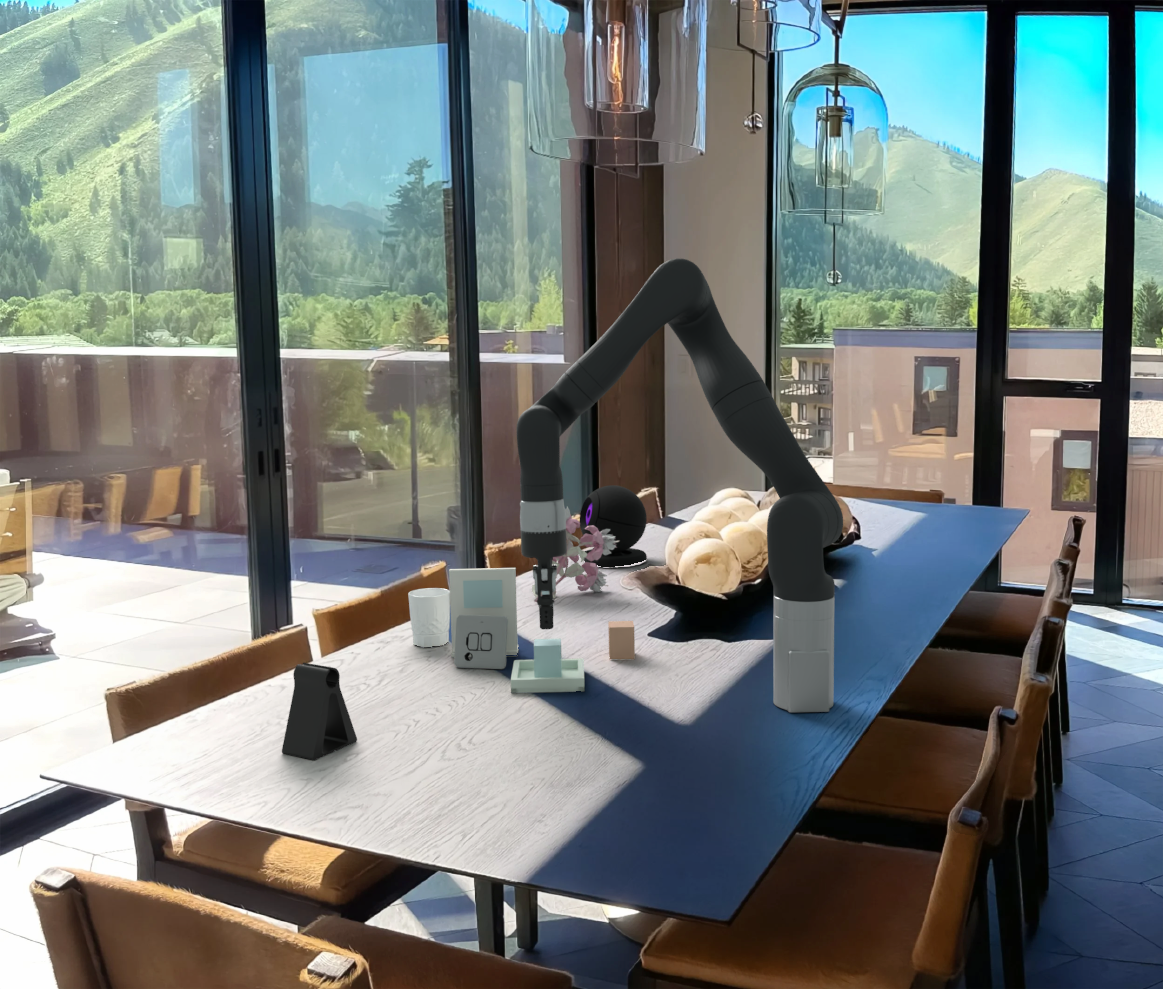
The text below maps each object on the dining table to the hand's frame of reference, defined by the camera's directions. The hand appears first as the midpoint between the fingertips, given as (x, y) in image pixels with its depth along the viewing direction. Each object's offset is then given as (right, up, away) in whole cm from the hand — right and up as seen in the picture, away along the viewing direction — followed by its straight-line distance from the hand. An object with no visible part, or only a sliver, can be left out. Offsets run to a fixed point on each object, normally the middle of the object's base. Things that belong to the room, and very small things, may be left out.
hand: (547, 623), depth 193 cm
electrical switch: (-12, -9, +13) cm, 20 cm away
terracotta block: (+13, -8, +17) cm, 23 cm away
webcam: (+14, +4, +107) cm, 108 cm away
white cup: (-23, -7, +29) cm, 37 cm away
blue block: (0, -9, +2) cm, 9 cm away
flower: (+4, -1, +69) cm, 70 cm away
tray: (0, -10, +2) cm, 10 cm away
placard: (-12, -8, +20) cm, 24 cm away
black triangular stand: (-32, -15, -28) cm, 45 cm away
